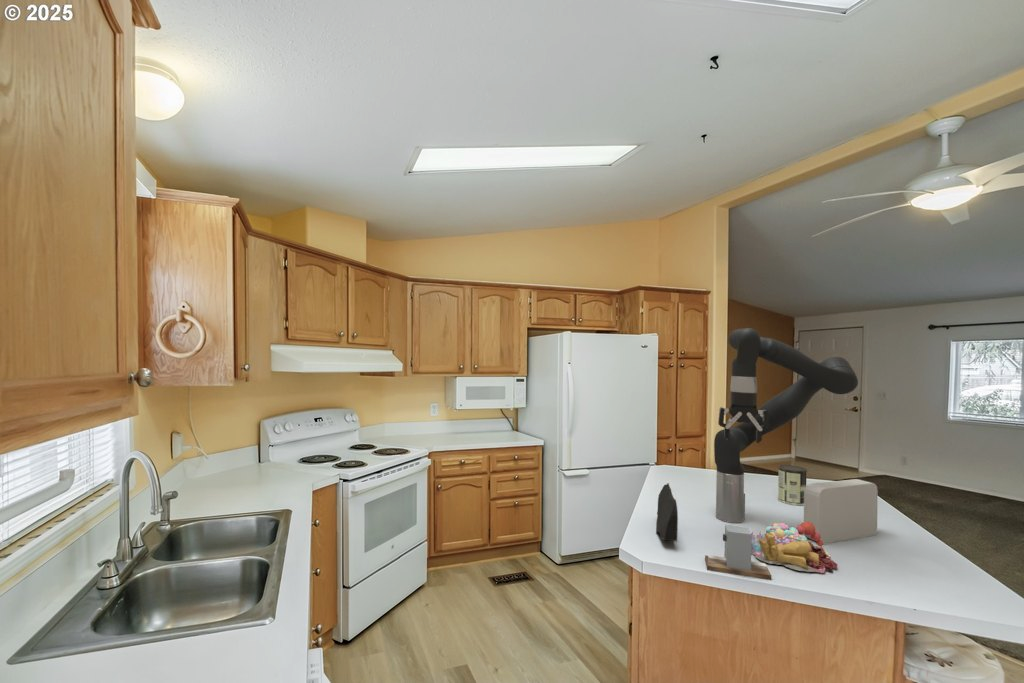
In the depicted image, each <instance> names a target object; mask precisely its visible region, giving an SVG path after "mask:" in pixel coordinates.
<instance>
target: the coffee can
mask: <svg viewBox="0 0 1024 683" xmlns="http://www.w3.org/2000/svg"><path fill="white" fill-rule="evenodd" d="M807 472H808V469H806V467H805V468H804V467H802V466H797V465H790V464H789V465H788V464H782V465H781V464H780V465H778V473H777V474H778V481H777V482H778V488H777V489H778V490H777V491H778V492H777V493H778V494H777V495H778V497H777V500H778V501H779V502H780V503H784V504H787V505H790V506H792V505H793V506H804V491H805V488H806V486H807Z"/></svg>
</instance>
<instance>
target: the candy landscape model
mask: <svg viewBox="0 0 1024 683" xmlns="http://www.w3.org/2000/svg"><path fill="white" fill-rule="evenodd" d="M761 532H762V531H760V532H759V533H758V534H757V535H756V534H755V533H754V531H751V532H750V533H751V555H753V556H754V557H755V558H756V559H758V560H760V561H761V562H763V563H765V564H771V565H781V566H784V567H786V568H789V569H791V570H795V571H799V572H807V573H810V572H812V573H813V572H816V573H822V574H825V572H826V571H828V572H830V573H834V571H833V569H835V570H838V563H836V562H835V561H834V560H833V559H832V557H831V555H830V553H829V552H828V551H827V550H825V548H824V544H823V542H822V541H821V540H820V539H821V536H820V534H819V533H818V532H815V527H814V525H813V524H812V523H810V522H804V521H803V522H801V523H800V525H797V526H796V527H794V526H793V527H792V526H791V527H789V526H788V525H787V523H784V522H780V523H778V522H777V523H776V522H774V523H773V524H772V526H770V525H768V526H767V527H766V528H765V533H761ZM804 534H805V535H809V536H811V538H812V539H813V540H812V539H811V540H812V541H815V544H816V545H814V544H813V543H812V542H810V541H808V538H807V537H806V536H805V535H804Z"/></svg>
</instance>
